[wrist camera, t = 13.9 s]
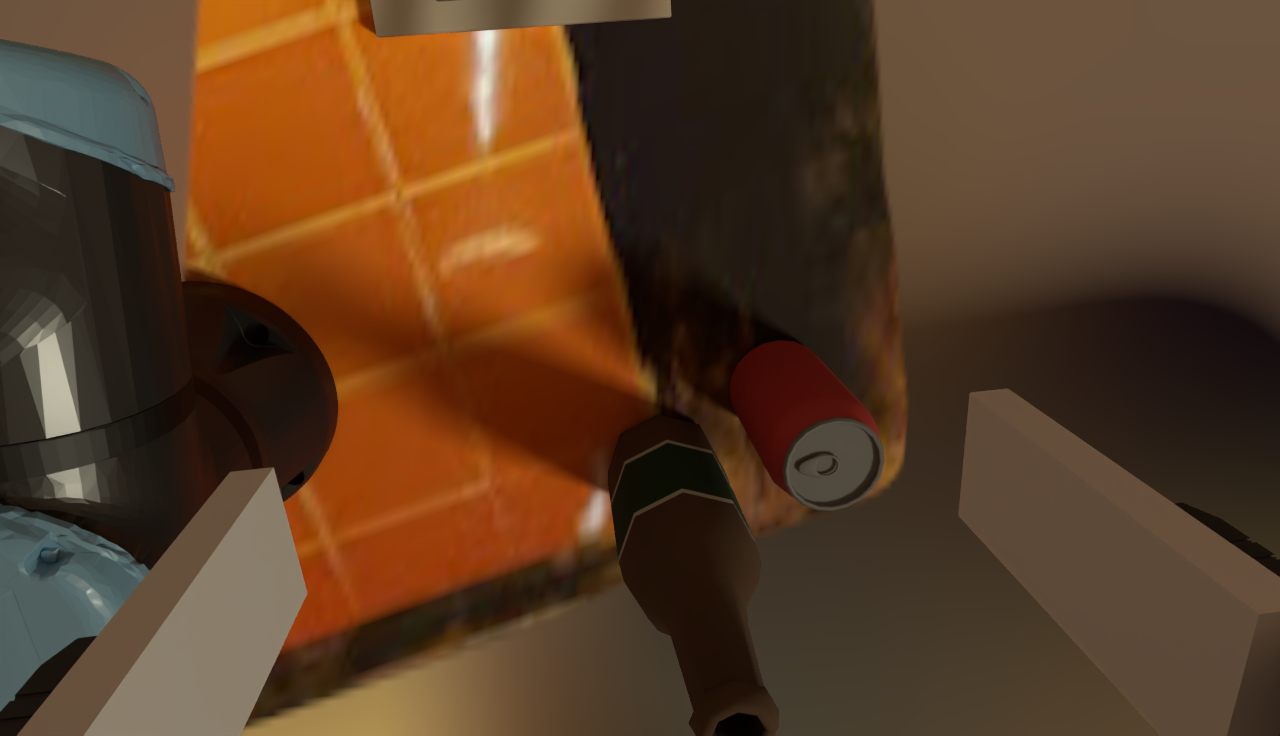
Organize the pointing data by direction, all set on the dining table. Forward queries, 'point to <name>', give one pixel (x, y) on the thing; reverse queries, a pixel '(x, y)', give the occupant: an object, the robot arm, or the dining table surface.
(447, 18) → the collar stand
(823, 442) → the beer can
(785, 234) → the dining table surface
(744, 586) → the beer bottle
